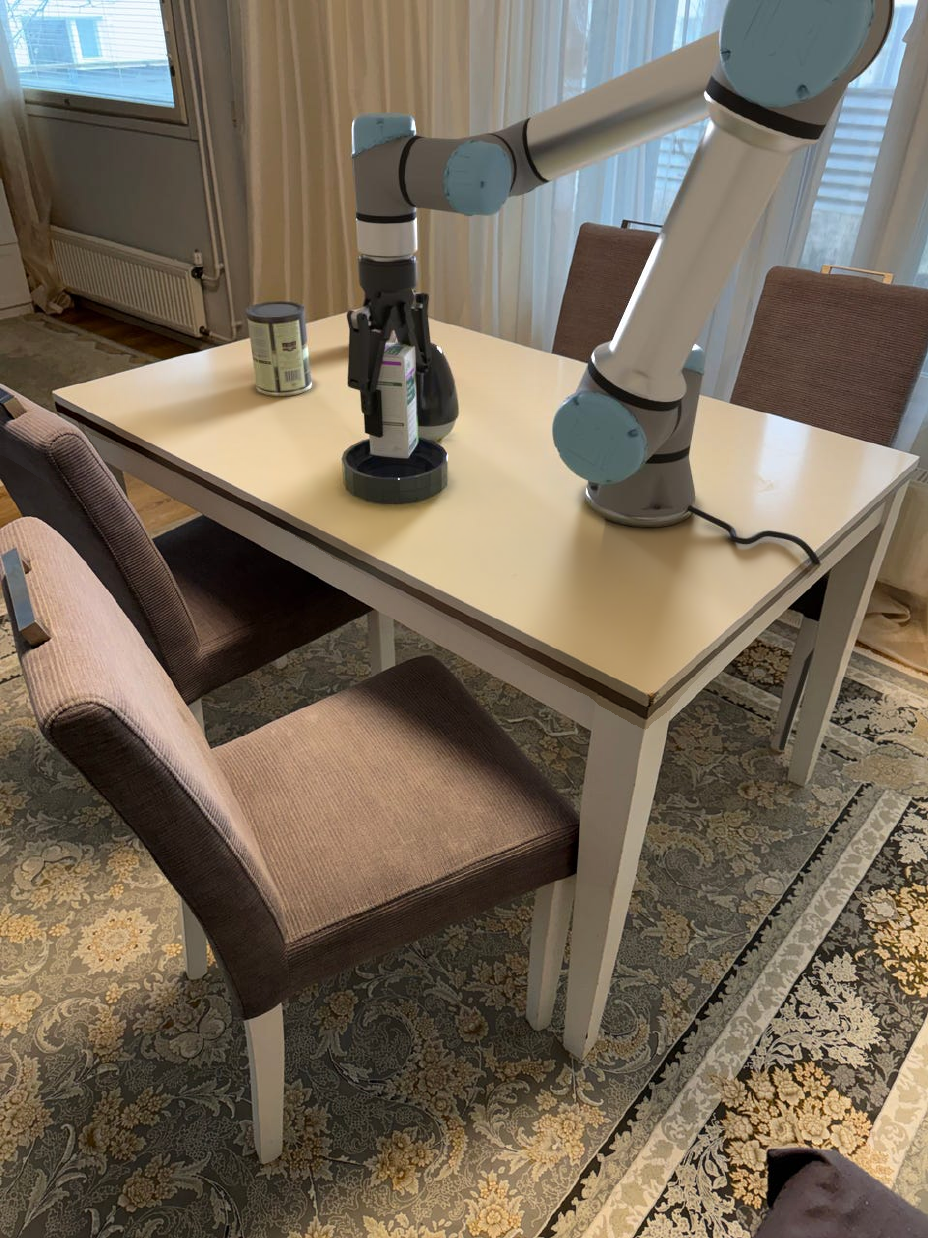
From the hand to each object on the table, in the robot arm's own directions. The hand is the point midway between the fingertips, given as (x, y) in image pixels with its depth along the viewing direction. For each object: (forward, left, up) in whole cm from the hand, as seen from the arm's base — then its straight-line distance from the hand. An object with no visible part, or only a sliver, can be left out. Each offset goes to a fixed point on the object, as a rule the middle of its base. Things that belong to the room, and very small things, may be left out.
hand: (393, 425), depth 123 cm
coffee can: (+43, -18, -9) cm, 47 cm away
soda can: (+46, -49, -9) cm, 68 cm away
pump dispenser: (+8, -17, -9) cm, 21 cm away
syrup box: (0, 0, -4) cm, 4 cm away
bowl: (0, 0, -9) cm, 9 cm away
